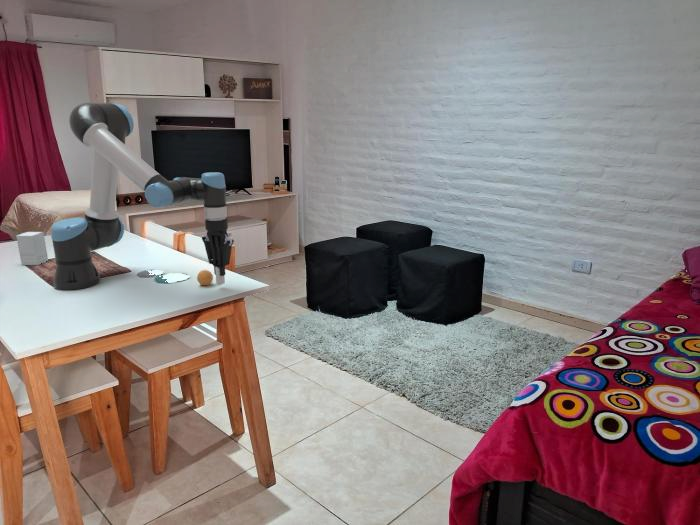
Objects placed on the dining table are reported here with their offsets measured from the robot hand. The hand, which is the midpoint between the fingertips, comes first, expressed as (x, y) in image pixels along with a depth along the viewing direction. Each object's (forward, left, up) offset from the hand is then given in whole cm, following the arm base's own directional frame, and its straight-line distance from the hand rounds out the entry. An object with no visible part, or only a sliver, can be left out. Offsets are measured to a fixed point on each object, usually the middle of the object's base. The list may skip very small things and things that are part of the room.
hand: (220, 283), depth 190 cm
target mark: (0, +24, -2) cm, 24 cm away
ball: (0, +7, +1) cm, 8 cm away
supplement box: (-13, +91, -2) cm, 92 cm away
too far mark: (0, +36, -2) cm, 36 cm away
